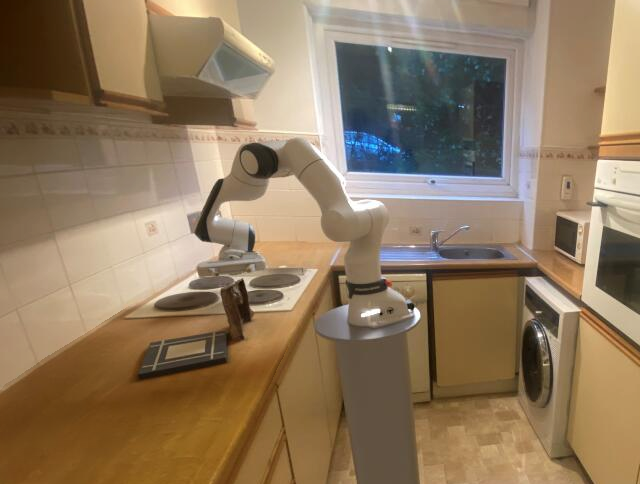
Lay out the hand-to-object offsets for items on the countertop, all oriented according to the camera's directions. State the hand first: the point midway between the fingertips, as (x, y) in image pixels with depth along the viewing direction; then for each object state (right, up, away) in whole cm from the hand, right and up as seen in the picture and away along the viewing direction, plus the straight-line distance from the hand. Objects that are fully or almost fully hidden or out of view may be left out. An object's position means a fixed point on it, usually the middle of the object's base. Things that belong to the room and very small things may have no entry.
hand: (232, 272), depth 143 cm
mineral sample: (+10, -19, -11) cm, 24 cm away
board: (+5, -25, -27) cm, 37 cm away
